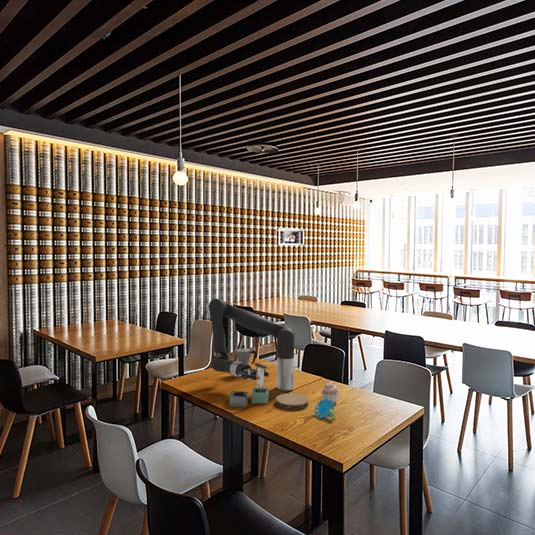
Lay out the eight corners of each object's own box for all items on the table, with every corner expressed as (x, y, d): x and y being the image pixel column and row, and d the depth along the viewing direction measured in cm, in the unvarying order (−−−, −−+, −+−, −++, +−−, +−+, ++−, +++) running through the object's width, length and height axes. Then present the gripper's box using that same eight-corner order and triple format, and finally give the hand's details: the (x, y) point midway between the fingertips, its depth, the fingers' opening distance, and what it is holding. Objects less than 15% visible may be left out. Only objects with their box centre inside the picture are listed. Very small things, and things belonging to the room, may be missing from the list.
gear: (309, 410, 191) (323, 394, 193) (315, 417, 194) (329, 401, 196) (324, 422, 181) (338, 404, 184) (330, 429, 184) (344, 412, 187)
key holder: (268, 398, 211) (268, 388, 211) (267, 403, 203) (267, 393, 203) (253, 397, 212) (253, 387, 211) (251, 402, 204) (251, 392, 203)
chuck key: (252, 399, 209) (253, 363, 208) (256, 397, 211) (257, 362, 211) (263, 403, 203) (264, 366, 203) (267, 401, 206) (268, 365, 205)
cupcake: (339, 399, 211) (340, 380, 211) (338, 405, 202) (338, 385, 202) (321, 397, 214) (322, 378, 213) (319, 403, 205) (319, 383, 204)
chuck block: (247, 401, 205) (248, 391, 205) (245, 407, 197) (246, 397, 197) (231, 400, 206) (232, 391, 206) (229, 406, 198) (229, 396, 198)
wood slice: (276, 410, 195) (276, 404, 195) (275, 398, 211) (275, 392, 211) (309, 411, 195) (309, 405, 195) (306, 399, 211) (306, 393, 211)
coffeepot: (230, 375, 249) (230, 345, 249) (236, 371, 258) (237, 342, 258) (253, 378, 244) (254, 348, 243) (259, 374, 253) (260, 345, 252)
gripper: (230, 365, 212) (252, 371, 201) (250, 360, 222) (272, 366, 211) (230, 379, 212) (252, 386, 201) (250, 374, 223) (271, 380, 211)
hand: (262, 376), depth 206 cm, fingers open, 8 cm apart
